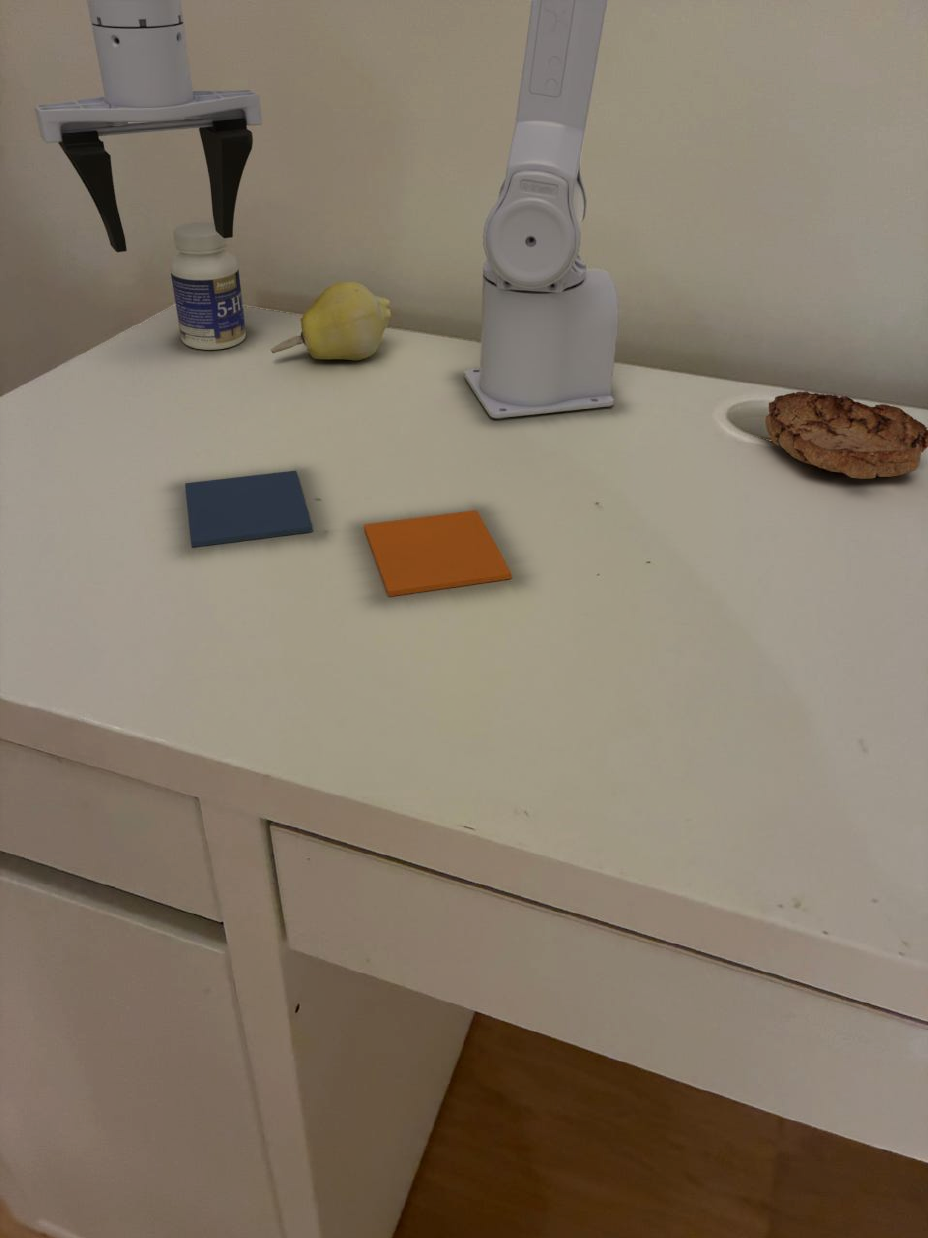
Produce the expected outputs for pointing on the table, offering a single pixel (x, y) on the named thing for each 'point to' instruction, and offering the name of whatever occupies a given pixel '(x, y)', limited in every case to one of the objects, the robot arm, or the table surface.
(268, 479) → the blue mat
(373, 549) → the amber mat
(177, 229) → the pill bottle
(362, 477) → the table surface
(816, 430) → the cookie
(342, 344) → the fruit
